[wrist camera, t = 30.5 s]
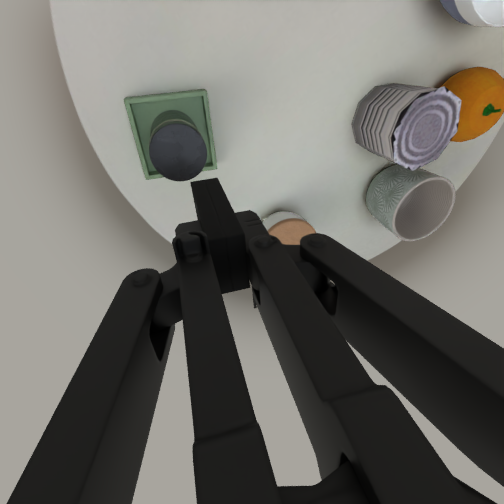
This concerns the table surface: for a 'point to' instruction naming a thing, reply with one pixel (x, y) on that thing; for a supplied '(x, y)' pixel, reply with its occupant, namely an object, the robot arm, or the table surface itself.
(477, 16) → the bowl
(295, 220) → the trinket box
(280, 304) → the robot arm
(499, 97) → the fruit
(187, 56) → the table surface
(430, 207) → the planter
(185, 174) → the black canister
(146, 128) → the tray
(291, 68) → the table surface
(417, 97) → the can
